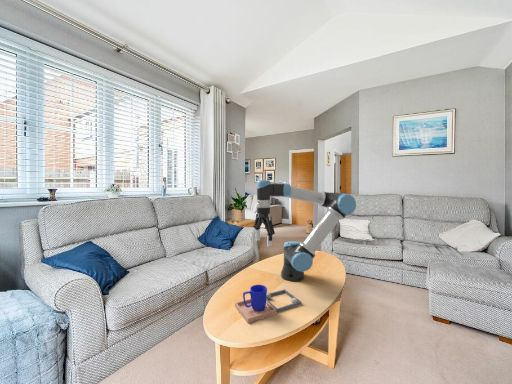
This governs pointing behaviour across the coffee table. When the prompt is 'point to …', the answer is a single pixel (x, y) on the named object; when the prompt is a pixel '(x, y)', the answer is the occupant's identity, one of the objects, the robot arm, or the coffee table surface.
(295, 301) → the pebble
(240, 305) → the terracotta dish
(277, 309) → the slate bin
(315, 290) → the coffee table surface
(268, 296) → the pebble
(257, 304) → the mug
